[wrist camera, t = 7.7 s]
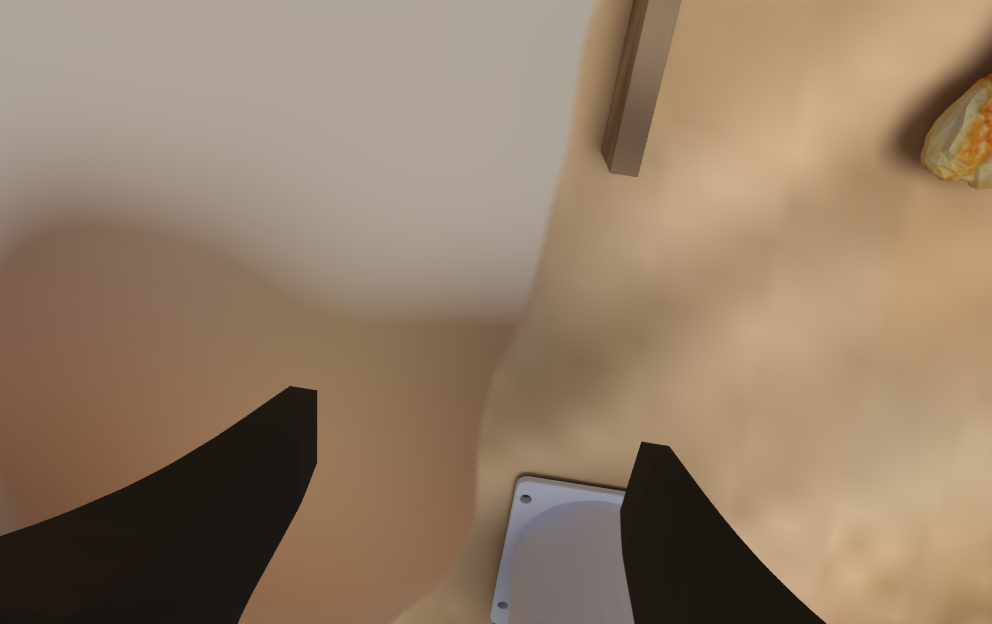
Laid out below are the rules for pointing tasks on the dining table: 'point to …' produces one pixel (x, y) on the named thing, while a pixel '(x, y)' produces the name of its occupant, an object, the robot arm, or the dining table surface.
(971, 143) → the croissant
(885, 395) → the dining table surface
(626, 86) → the frame
